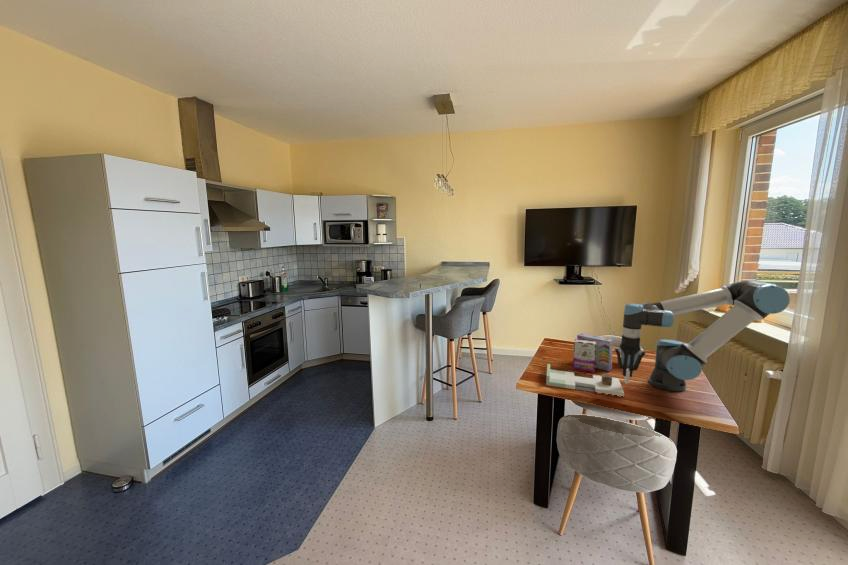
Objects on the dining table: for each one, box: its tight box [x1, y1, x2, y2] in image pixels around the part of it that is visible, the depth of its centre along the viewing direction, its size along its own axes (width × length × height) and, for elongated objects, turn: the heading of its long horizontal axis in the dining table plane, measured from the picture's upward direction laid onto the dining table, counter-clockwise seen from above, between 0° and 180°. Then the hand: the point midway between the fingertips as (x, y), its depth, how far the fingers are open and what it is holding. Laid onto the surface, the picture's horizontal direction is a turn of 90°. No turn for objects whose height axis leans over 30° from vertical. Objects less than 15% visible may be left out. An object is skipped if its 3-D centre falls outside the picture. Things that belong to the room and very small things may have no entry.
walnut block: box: [601, 373, 613, 386], centre depth 169 cm, size 4×4×4 cm
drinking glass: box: [620, 344, 642, 368], centre depth 197 cm, size 10×10×12 cm
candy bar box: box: [572, 338, 596, 373], centre depth 190 cm, size 11×5×16 cm, turn 62°
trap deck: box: [545, 363, 625, 398], centre depth 173 cm, size 34×16×5 cm, turn 69°
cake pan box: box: [576, 332, 614, 372], centre depth 194 cm, size 19×5×18 cm, turn 42°
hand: (626, 382), depth 166 cm, fingers closed
